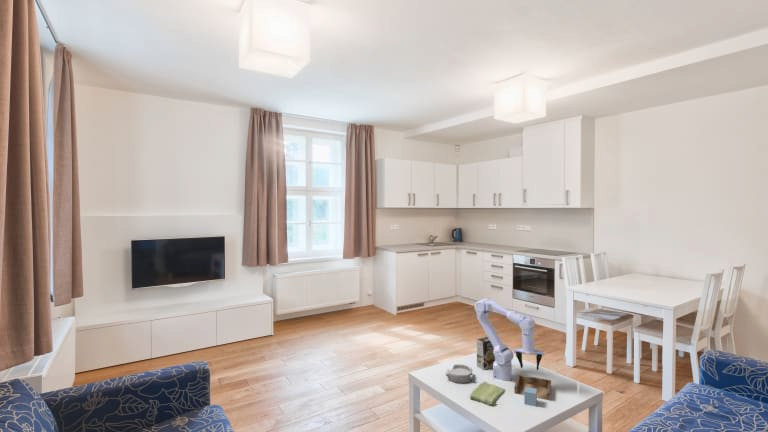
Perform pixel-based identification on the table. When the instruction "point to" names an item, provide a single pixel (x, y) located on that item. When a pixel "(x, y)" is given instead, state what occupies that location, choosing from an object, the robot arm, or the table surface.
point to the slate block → (530, 396)
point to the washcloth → (487, 393)
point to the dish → (460, 373)
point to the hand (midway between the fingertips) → (529, 368)
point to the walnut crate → (533, 386)
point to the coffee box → (485, 353)
